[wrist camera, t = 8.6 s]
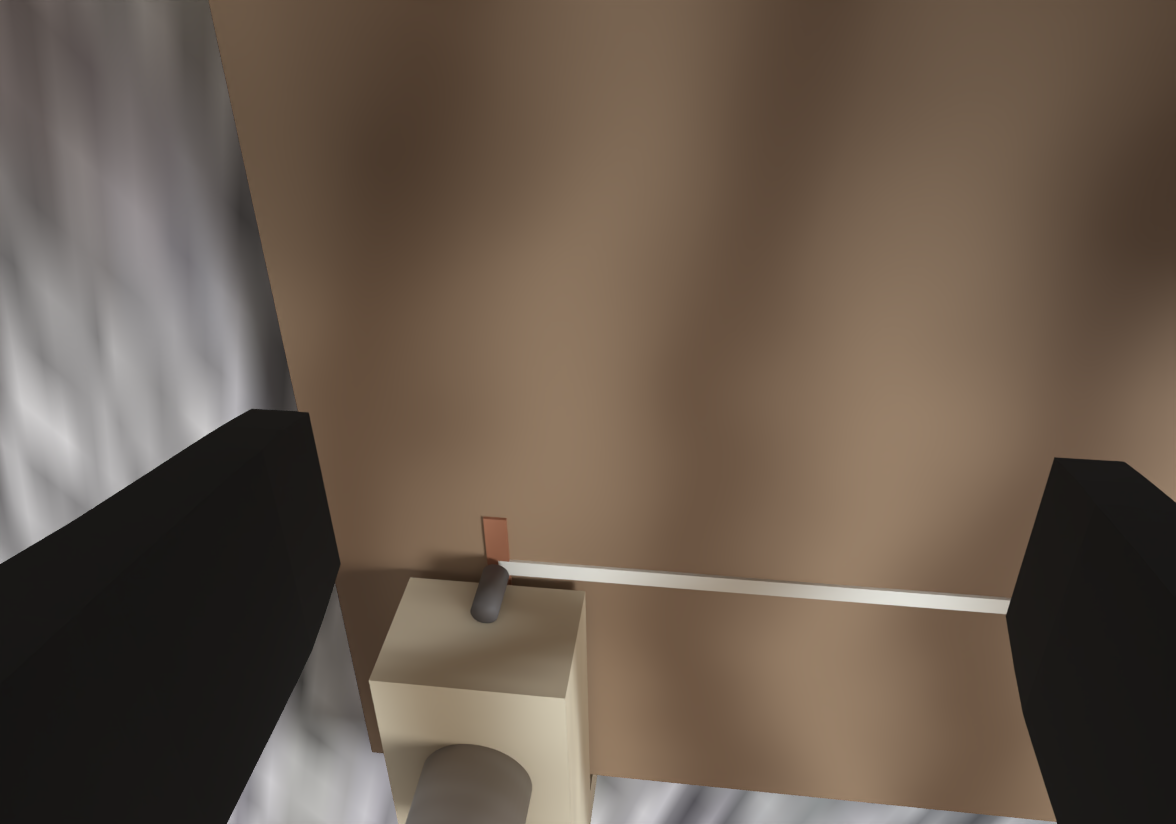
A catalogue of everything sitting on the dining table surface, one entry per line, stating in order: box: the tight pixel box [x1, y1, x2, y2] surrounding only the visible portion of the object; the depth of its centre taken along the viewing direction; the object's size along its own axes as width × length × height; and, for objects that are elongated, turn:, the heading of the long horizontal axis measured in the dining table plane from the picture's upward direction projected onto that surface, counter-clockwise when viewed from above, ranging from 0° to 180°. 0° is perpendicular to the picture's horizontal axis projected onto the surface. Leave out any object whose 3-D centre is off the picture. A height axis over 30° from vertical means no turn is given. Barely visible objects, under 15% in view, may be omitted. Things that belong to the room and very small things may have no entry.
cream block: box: [369, 564, 597, 824], centre depth 22 cm, size 4×9×10 cm, turn 1°
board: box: [208, 0, 1176, 822], centre depth 21 cm, size 18×20×2 cm
